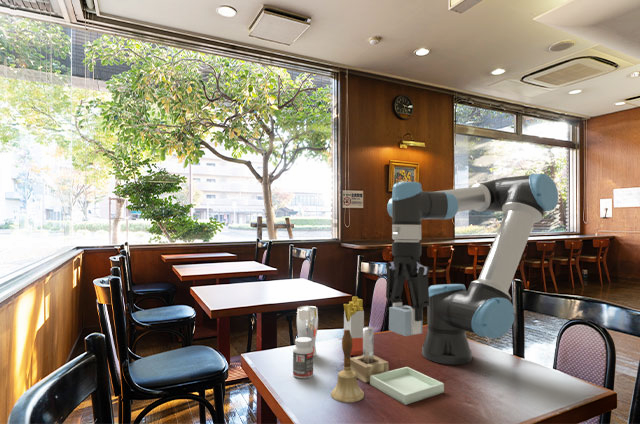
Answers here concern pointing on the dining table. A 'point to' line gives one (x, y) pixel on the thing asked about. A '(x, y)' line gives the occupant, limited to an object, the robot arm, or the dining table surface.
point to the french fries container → (355, 324)
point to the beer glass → (307, 323)
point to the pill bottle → (303, 358)
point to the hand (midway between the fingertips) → (406, 330)
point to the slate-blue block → (401, 320)
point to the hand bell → (347, 376)
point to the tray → (406, 385)
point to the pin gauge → (368, 345)
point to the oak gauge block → (368, 367)
